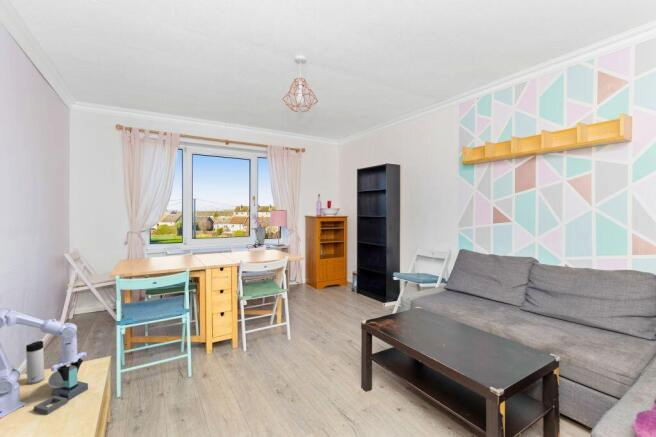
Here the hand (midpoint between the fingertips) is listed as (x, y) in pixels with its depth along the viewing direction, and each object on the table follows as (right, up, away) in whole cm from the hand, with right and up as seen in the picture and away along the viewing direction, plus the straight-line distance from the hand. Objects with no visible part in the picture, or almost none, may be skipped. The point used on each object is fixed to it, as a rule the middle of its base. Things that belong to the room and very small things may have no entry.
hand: (70, 377), depth 145 cm
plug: (0, -4, 0) cm, 4 cm away
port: (0, -8, 0) cm, 8 cm away
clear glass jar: (-12, -4, +7) cm, 14 cm away
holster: (-1, -8, -9) cm, 12 cm away
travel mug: (-25, -7, +9) cm, 27 cm away
